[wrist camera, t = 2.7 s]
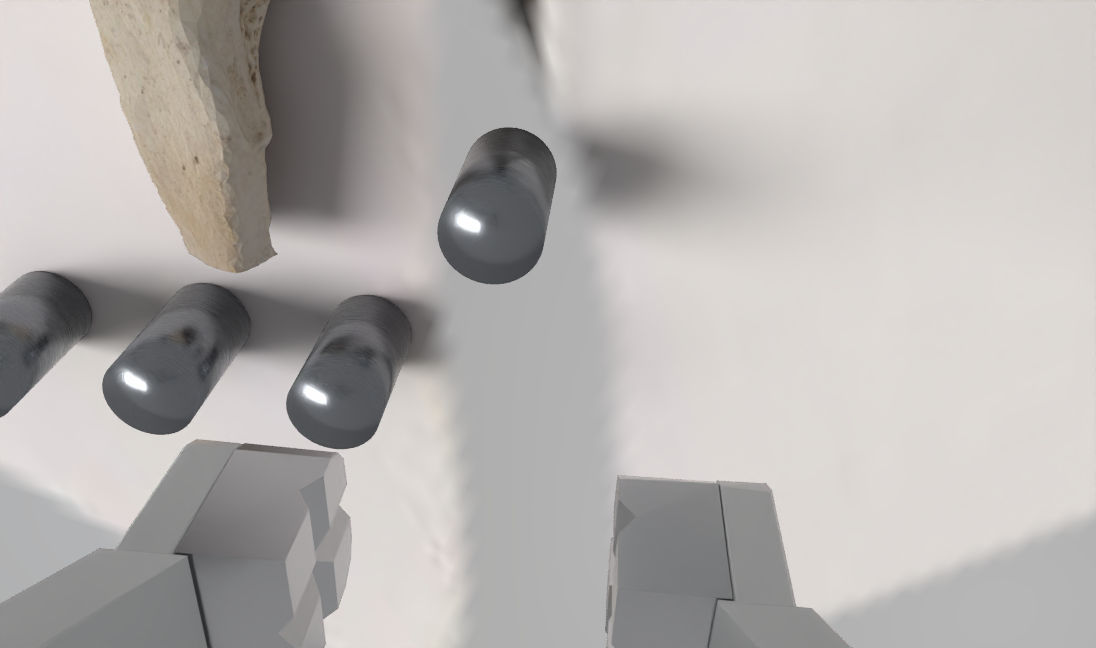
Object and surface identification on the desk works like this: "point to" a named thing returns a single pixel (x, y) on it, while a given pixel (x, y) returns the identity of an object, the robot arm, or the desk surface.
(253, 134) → the bone fragment
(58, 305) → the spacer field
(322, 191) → the desk surface
